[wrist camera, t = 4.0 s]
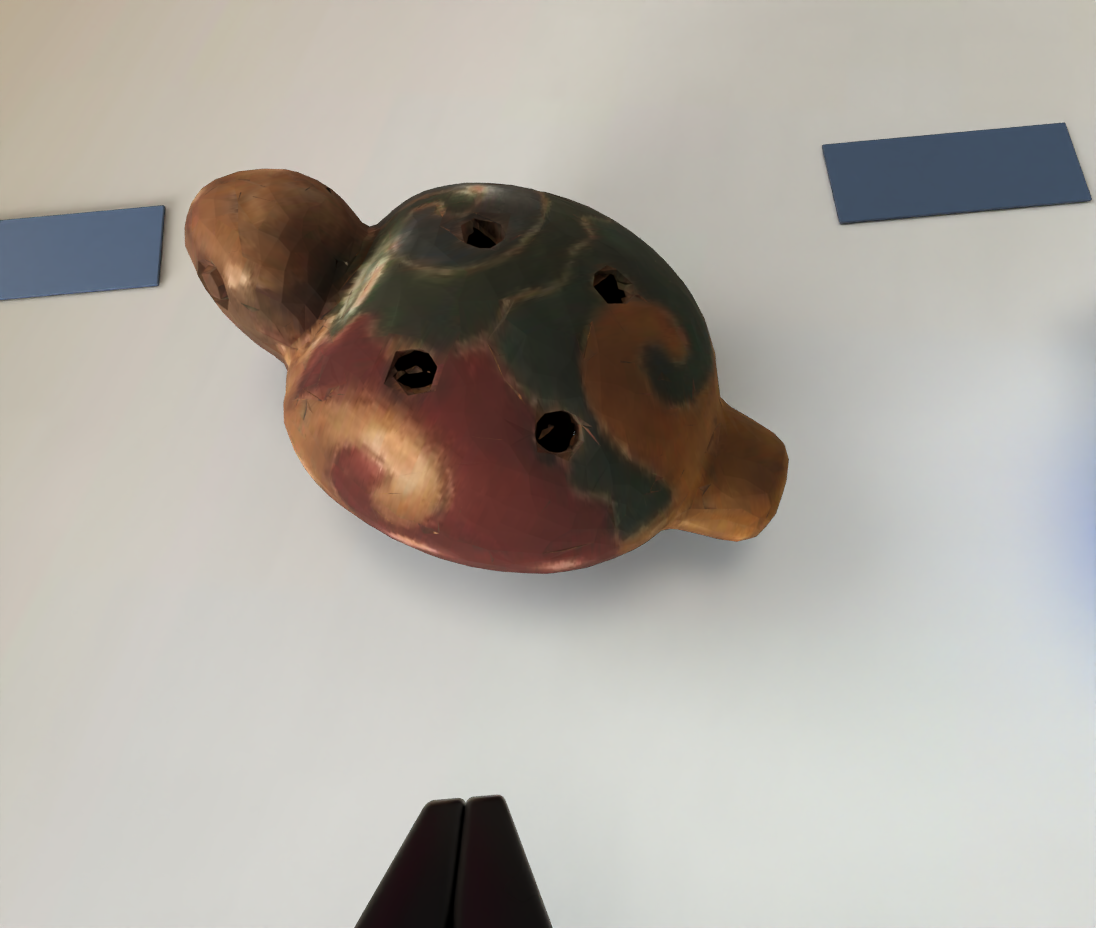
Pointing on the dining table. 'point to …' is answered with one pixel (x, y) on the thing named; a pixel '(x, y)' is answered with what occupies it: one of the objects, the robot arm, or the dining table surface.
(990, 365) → the dining table surface
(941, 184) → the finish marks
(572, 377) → the decorative turtle
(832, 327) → the dining table surface
